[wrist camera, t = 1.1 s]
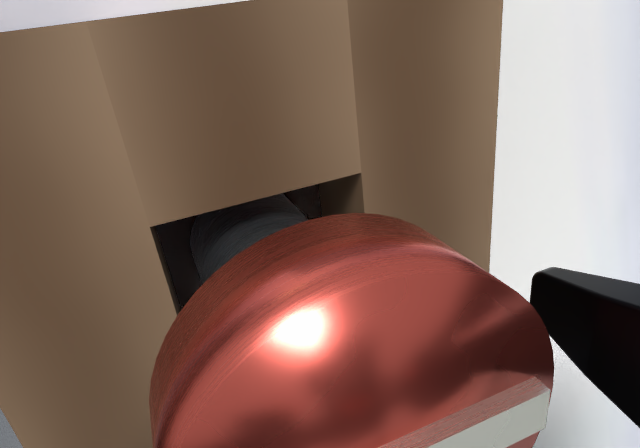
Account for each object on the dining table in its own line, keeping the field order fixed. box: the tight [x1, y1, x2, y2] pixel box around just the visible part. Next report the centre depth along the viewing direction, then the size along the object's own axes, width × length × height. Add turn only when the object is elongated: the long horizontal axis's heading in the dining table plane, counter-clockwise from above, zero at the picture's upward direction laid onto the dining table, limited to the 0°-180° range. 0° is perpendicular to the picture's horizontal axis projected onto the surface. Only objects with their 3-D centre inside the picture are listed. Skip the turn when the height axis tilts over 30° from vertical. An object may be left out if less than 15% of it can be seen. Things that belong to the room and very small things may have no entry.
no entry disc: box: [149, 193, 554, 448], centre depth 10 cm, size 6×6×8 cm
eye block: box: [0, 0, 503, 448], centre depth 12 cm, size 12×12×3 cm
